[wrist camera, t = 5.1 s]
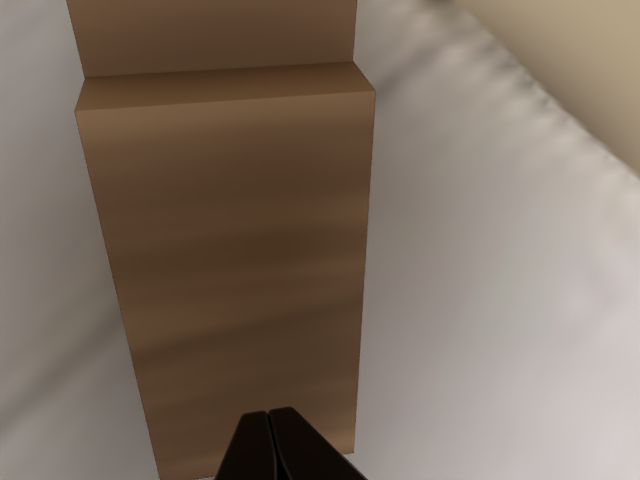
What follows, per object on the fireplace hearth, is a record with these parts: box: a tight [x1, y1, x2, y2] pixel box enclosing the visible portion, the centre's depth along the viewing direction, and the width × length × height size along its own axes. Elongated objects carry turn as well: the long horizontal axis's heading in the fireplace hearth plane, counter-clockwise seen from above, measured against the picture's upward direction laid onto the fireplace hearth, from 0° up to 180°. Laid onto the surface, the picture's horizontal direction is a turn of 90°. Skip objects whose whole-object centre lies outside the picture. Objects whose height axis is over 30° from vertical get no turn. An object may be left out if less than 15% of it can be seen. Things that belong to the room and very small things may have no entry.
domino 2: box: [66, 0, 357, 77], centre depth 14 cm, size 2×5×10 cm
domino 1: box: [74, 62, 376, 480], centre depth 14 cm, size 2×5×10 cm
